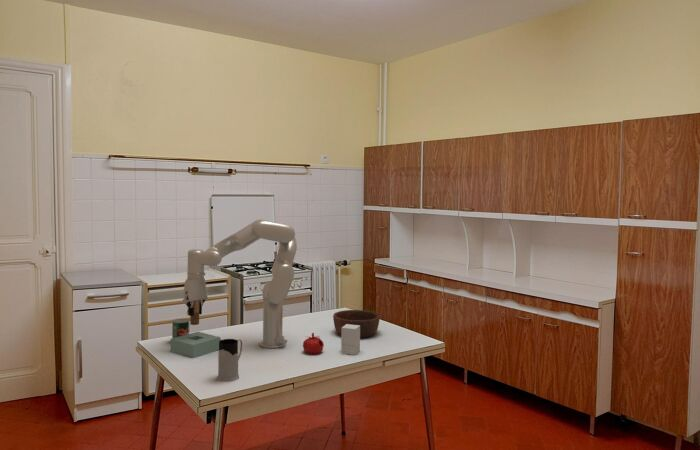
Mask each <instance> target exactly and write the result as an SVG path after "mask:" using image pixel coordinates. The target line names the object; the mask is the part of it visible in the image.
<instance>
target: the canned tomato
mask: <svg viewBox="0 0 700 450" xmlns="http://www.w3.org/2000/svg"><path fill="white" fill-rule="evenodd" d="M171 324H172V328H171V332H172V334H171V335H172V338H175V337H179V336H183V335H187V334H190V319H189V318H177V319H173V320H172V323H171Z"/></svg>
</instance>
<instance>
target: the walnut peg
mask: <svg viewBox="0 0 700 450" xmlns="http://www.w3.org/2000/svg"><path fill="white" fill-rule="evenodd" d="M199 304H200V300H196V301H194V303H193V308H194V316H189V317H190V318H189V325H191V326H198V325H200V314H199Z"/></svg>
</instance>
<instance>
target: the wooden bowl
mask: <svg viewBox="0 0 700 450" xmlns="http://www.w3.org/2000/svg"><path fill="white" fill-rule="evenodd" d="M332 317H333V320H332V321H333V325H334V329H335V331H336V333H337V334H338V335H339V336H340V337H341V328H342V327H343V326H344V325H346V324H350V325H360V339H367V338H372V337H373V336H375V334H376V333H377V331H378V328H379V325H380V317H381V316H380V315H379V313H377V312H374V311H369V310H364V309H363V310H362V309H347V310H345V309H344V310H340V311H337V312H334V313H333V315H332Z"/></svg>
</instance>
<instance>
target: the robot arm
mask: <svg viewBox="0 0 700 450" xmlns="http://www.w3.org/2000/svg"><path fill="white" fill-rule="evenodd" d="M260 239H262V240H267V241H270V242H271V241H272V242H278V244H279V245H278V250H277V254H276V256H275V259H274V262H273V265H272V267H271V274H272V279H271V280H270V281H268V282H266V283H265V284H264V286H263V287H262V305H263V306H262V310H263V311H262V340H260V341H259V346H260V347H261V348H265V349H278V348H283V347H284V346H286V345H287V343H288V339H285V336H284V335H283V319H284V318H283V317H284V315H283V313H284V312H283V311H284V308H283V307H284V305H283V304H284V301H285V300H286V298H287V297H288V295H289V291H290V289H291V286H292V283H293V280H294V277H295V270H294V267H293V264H294V263H293V262H294V260H295V256H296V254H297V248H298V247H297V244H298V243H297V239H296V232H295V229H294V228H293V227H292V225H288V224H286V223H276V222H271V221H267V220H264V219H260V218H259V219H256V220H254V221H252V222H251V223H250V224H248V225H246V226H244V227H243V228H241V229H240V230H238V231H236V232H235V233H232V234H230V235H229V236H227V237H226V238H224V239H222V240H219V241H218V242H217V243H215V244H214V245H211V246H210V247H209V248H207V249H206V250H202V249H190V250H188V251H187V269H186V270H187V274H186V275H187V277H186V279H185V281H184V287H183V295H182V296H183V297H182V298H183V299H182V301H181V302H182V303H183V304H185V305H186V307H187V309H188V310H187V316H189V317H190V316H194V308H193V303H194V301H196V300H200V304H199V316H200V315H202V313H203V306H204V303H205V302H206V301H207V300H208V298H209V297H208V295H207V283H206V279H205V276H206V272H205V266H209V267H216V266H218V265H220V264H221V262H222V259H223V258H225V257H226V256H228V255H229V254H232V253H233V252H236V251H237V252H238V251H241V250H244V249H246V248H248V247H249V246H250V245H252V244H254V243H255V242H256V241H259V240H260Z"/></svg>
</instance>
